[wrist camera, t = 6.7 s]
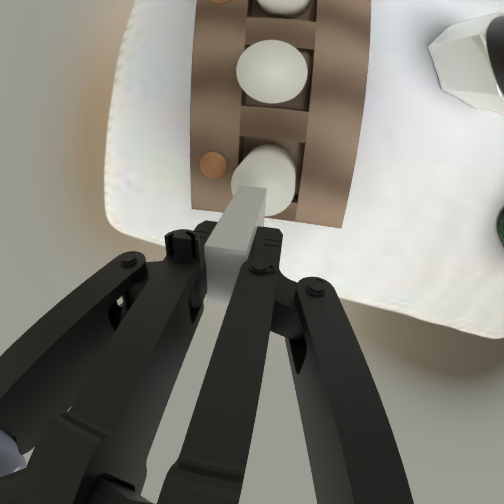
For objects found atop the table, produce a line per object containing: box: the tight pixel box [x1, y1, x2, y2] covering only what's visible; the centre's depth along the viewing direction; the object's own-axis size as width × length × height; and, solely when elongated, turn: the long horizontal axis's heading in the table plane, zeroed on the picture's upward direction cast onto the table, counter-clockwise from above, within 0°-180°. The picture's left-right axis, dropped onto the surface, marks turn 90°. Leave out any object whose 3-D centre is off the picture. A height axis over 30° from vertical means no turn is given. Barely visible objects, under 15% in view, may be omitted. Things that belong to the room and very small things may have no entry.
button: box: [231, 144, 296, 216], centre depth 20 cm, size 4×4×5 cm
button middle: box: [236, 40, 308, 103], centre depth 16 cm, size 4×4×5 cm
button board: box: [190, 0, 371, 228], centre depth 19 cm, size 25×14×3 cm, turn 176°
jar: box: [428, 12, 504, 115], centre depth 10 cm, size 9×8×12 cm
